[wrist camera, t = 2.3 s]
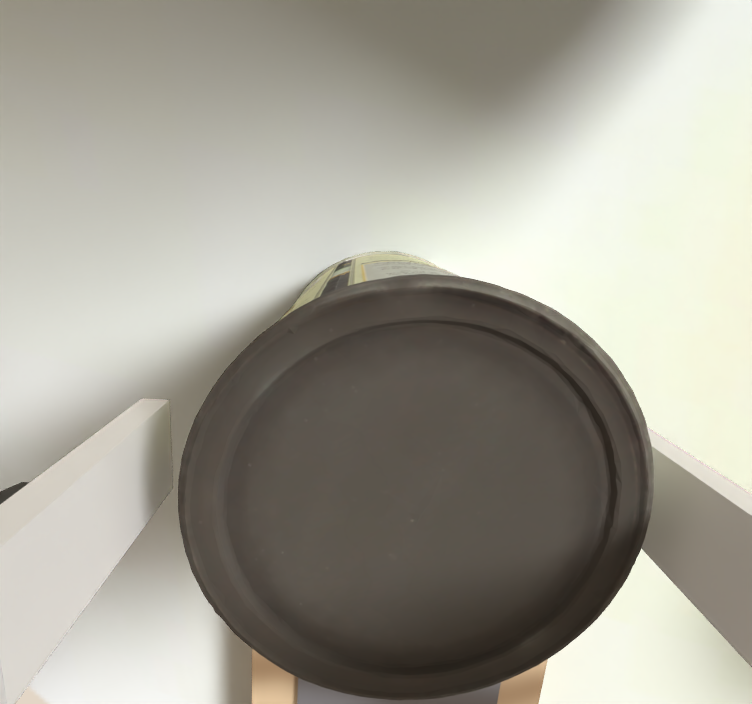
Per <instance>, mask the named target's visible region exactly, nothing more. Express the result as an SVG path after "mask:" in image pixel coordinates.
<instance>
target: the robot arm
mask: <svg viewBox="0 0 752 704" xmlns="http://www.w3.org/2000/svg"><path fill="white" fill-rule="evenodd" d="M647 429H648V433H649V437H650V441H651V446H652V452H653V461H654V497H653V503H652V510H651V517H650V521H649V524H648V528H647V532H646V536H645V539H644V542H643V545H642V547H641V548H642V549H643V550H644V552H645V553H646V554H647V555H648V556H649V557H650V558H651V559H652V560H653V561H654V562H655V563H656V564H657V566H658V567H659V568H660V569H661V570H662V571H663V572H664V573H665V574H666V575H667V576H668V577H669V579H670V580H671V581H672V582H673V583H674V584H675V585H676V586H677V587H678V588H679V589H680V590H681V591H682V593H683V594H684V595H685V596H686V597H687V598H688V599H689V600H690V601H691V602H692V603H693V604H694V606H695V607H696V608H697V609H698V610H699V611H700V612H701V613H702V614H703V615H704V616H705V617H706V618H707V620H708V621H709V622H710V623H711V624H712V625H713V626H714V627H715V628H716V629H717V630H718V631H719V633H720V634H721V635H722V636H723V637H724V638H725V639H726V640H727V641H728V642H729V643H730V644H731V645H732V647H733V648H734V649H735V650H736V651H737V652H738V653H739V654H740V655H741V656H742V657H743V658H744V659H745V661H746V662H747V663H748V664H749V665H750V666H751V667H752V494H751V493H750V492H748V491H746V490H745V489H743V488H742V487H740V486H739V485H737V484H736V483H734V482H732V481H731V480H729V479H728V478H726V477H725V476H723V475H722V474H720V473H718V472H717V471H715V470H714V469H712V468H711V467H709V466H708V465H706V464H704V463H703V462H701V461H700V460H698V459H697V458H695V457H694V456H692V455H690V454H689V453H687V452H686V451H684V450H683V449H681V448H680V447H678V446H676V445H675V444H673V443H672V442H670V441H669V440H667V439H666V438H664V437H662V436H661V435H659V434H658V433H656V432H655V431H653V430H652V429H650V428H648V427H647ZM172 488H173V472H172V446H171V420H170V400H164V399H145V398H142V399H140V400H139V401H138V402H136V403H135V404H134V405H132V406H131V407H130V408H128V409H127V410H126V411H124V412H123V413H122V414H120V415H119V416H118V417H116V418H115V419H114V420H112V421H111V422H110V423H108V424H107V425H106V426H104V427H103V428H102V429H100V430H99V431H98V432H96V433H95V434H94V435H92V436H91V437H90V438H88V439H87V440H86V441H84V442H83V443H82V444H80V445H79V446H78V447H76V448H75V449H74V450H72V451H71V452H70V453H68V454H67V455H66V456H64V457H63V458H62V459H60V460H59V461H58V462H56V463H55V464H54V465H52V466H51V467H50V468H48V469H47V470H46V471H44V472H43V473H42V474H40V475H39V476H38V477H36V478H35V479H34V480H32V481H31V482H30V483H28V482H21V483H19V484H17V485H14V486H12V487H10V488H8V489H5V490H3V491H1V492H0V704H16V702H17V701H18V699H19V698H20V697H21V695H22V694H23V693H24V691H25V690H26V688H27V687H28V686H29V684H30V683H31V682H32V680H33V679H34V677H35V676H36V675H37V673H38V672H39V671H40V669H41V668H42V667H43V665H44V664H45V662H46V661H47V660H48V658H49V657H50V656H51V654H52V653H53V651H54V650H55V649H56V647H57V646H58V645H59V643H60V642H61V640H62V639H63V638H64V636H65V635H66V634H67V632H68V631H69V629H70V628H71V627H72V625H73V624H74V623H75V621H76V620H77V619H78V617H79V616H80V614H81V613H82V612H83V610H84V609H85V608H86V606H87V605H88V603H89V602H90V601H91V599H92V598H93V597H94V595H95V594H96V592H97V591H98V590H99V588H100V587H101V586H102V584H103V583H104V582H105V580H106V579H107V577H108V576H109V575H110V573H111V572H112V571H113V569H114V568H115V566H116V565H117V564H118V562H119V561H120V560H121V558H122V557H123V555H124V554H125V553H126V551H127V550H128V549H129V547H130V546H131V545H132V543H133V542H134V540H135V539H136V538H137V536H138V535H139V534H140V532H141V531H142V529H143V528H144V527H145V525H146V524H147V523H148V521H149V520H150V518H151V517H152V516H153V514H154V513H155V512H156V510H157V509H158V507H159V506H160V505H161V503H162V502H163V501H164V499H165V498H166V497H167V495H168V494H169V492H170V491H171V490H172Z"/></svg>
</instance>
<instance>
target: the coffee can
mask: <svg viewBox="0 0 752 704" xmlns="http://www.w3.org/2000/svg"><path fill="white" fill-rule="evenodd" d="M653 497H654V461H653V452H652V446H651V441H650V437H649V433H648V429H647V425H646V421H645V418H644V416H643V413H642V410H641V408H640V406H639V404H638V402H637V399H636V397H635V395H634V392H633V390H632V389H631V387H630V386H629V384H628V383H627V381H626V379H625V378H624V376H623V374H622V373H621V371H620V370H619V368H618V367H617V365H616V364H615V363H614V361H613V360H612V359H611V358H610V357H609V355H608V354H607V353H606V352H605V351H604V350H603V349H602V348H601V347H600V346H599V345H598V344H597V343H596V342H595V341H594V340H593V339H592V338H591V337H590V336H589V335H588V334H586V333H585V332H584V331H583V330H582V329H581V328H580V327H578V326H577V325H576V324H575V323H573V322H572V321H570V320H569V319H568V318H566V317H565V316H563V315H562V314H560V313H559V312H557V311H556V310H554V309H552V308H550V307H548V306H546V305H544V304H542V303H540V302H538V301H536V300H534V299H532V298H530V297H528V296H525V295H523V294H520V293H518V292H515V291H512V290H508V289H505V288H503V287H500V286H498V285H494V284H490V283H487V282H483V281H479V280H474V279H469V278H464V277H460V276H457V275H455V274H453V273H451V272H449V271H446V270H444V269H441V268H439V267H438V266H436V265H435V264H433V263H431V262H429V261H426V260H424V259H421V258H419V257H416V256H413V255H409V254H404V253H400V252H392V251H390V252H379V251H376V252H369V253H363V254H359V255H355V256H352V257H349V258H346V259H344V260H342V261H340V262H338V263H336V264H334V265H332V266H330V267H329V268H327V269H326V270H324V271H323V272H321V273H320V274H319V275H318V276H317V277H316V278H315V279H314V280H313V281H312V282H311V283H310V284H309V285H308V286H307V287H306V288H305V290H304V291H303V292H302V294H301V295H300V296H299V298H298V300H297V301H296V302H295V304H294V305H293V306H292V307H291V308H290V309H289V310H288V311H287V312H286V313H285V314H284V316H283V317H282V318H281V319H280V320H279V321H278V322H276V323H275V324H274V325H272V326H271V327H270V328H268V329H267V330H266V331H264V332H263V333H262V334H261V335H259V336H258V337H257V338H256V339H255V340H254V341H253V342H252V343H251V344H250V345H249V346H248V347H247V348H246V349H245V350H243V351H242V352H241V354H240V355H239V356H238V357H237V358H236V359H235V360H234V361H233V362H232V363H231V364H230V366H229V367H228V368H227V369H226V370H225V371H224V373H223V374H222V375H221V377H220V378H219V379H218V381H217V382H216V384H215V385H214V386H213V388H212V390H211V391H210V393H209V395H208V396H207V398H206V400H205V401H204V403H203V405H202V407H201V409H200V410H199V412H198V414H197V416H196V418H195V420H194V423H193V425H192V428H191V431H190V433H189V436H188V439H187V442H186V445H185V449H184V452H183V455H182V461H181V468H180V475H179V485H178V511H179V520H180V528H181V533H182V538H183V543H184V547H185V552H186V555H187V557H188V560H189V563H190V566H191V570H192V572H193V574H194V576H195V578H196V580H197V582H198V584H199V586H200V588H201V590H202V592H203V594H204V596H205V597H206V599H207V600H208V602H209V603H210V604H211V605H212V607H213V608H214V610H215V612H216V613H217V614H218V615H219V616H220V617H221V618H222V619H223V620H224V621H225V623H226V624H227V625H228V626H229V627H230V629H231V630H232V631H233V632H234V633H235V634H236V635H237V636H238V637H240V638H241V639H242V640H243V641H244V642H245V643H246V644H248V645H249V646H250V647H251V648H253V649H254V650H255V651H256V652H257V653H259V654H260V655H262V656H263V657H264V658H266V659H267V660H269V661H270V662H272V663H273V664H275V665H276V666H278V667H280V668H281V669H283V670H285V671H286V672H288V673H290V674H292V675H294V676H296V677H298V678H300V679H302V680H304V681H307V682H310V683H313V684H316V685H318V686H320V687H323V688H327V689H331V690H334V691H338V692H341V693H345V694H350V695H355V696H360V697H368V698H376V699H388V700H425V699H437V698H444V697H449V696H455V695H460V694H464V693H469V692H474V691H477V690H480V689H483V688H486V687H490V686H493V685H495V684H498V683H500V682H503V681H505V680H508V679H510V678H512V677H514V676H517V675H519V674H521V673H523V672H525V671H527V670H529V669H531V668H533V667H535V666H537V665H539V664H541V663H542V662H544V661H545V660H547V659H548V658H550V657H551V656H553V655H554V654H556V653H557V652H559V651H560V650H562V649H563V648H564V647H566V646H567V645H568V644H569V643H570V642H572V641H573V640H574V639H575V638H577V637H578V636H579V635H580V634H581V633H582V632H584V631H585V630H586V629H587V628H588V627H589V626H590V625H591V624H592V623H593V622H594V621H595V620H596V619H597V618H598V617H599V616H600V615H601V614H602V612H603V611H604V610H605V609H606V608H607V606H608V605H609V604H610V603H611V601H612V600H613V598H614V597H615V596H616V594H617V593H618V591H619V590H620V588H621V587H622V585H623V584H624V582H625V581H626V579H627V577H628V575H629V573H630V571H631V569H632V566H633V565H634V564H635V561H636V558H637V556H638V554H639V552H640V550H641V547H642V545H643V542H644V539H645V536H646V532H647V528H648V524H649V521H650V517H651V510H652V503H653Z"/></svg>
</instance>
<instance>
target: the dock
mask: <svg viewBox="0 0 752 704" xmlns="http://www.w3.org/2000/svg"><path fill="white" fill-rule="evenodd" d="M547 660H548V659H547ZM547 660H545V661H544V662H542V663H541V664H539V665H537V666H535V667H533V668H531V669H529V670H527V671H525V672H523V673H521V674H519V675H517V676H514V677H512V678H510V679H508V680H505V681H503V682H500V683H498V684H495V685H493V686H490V687H486V688H483V689H480V690H477V691H474V692H469V693H464V694H460V695H455V696H449V697H444V698H437V699H425V700H388V699H376V698H368V697H360V696H355V695H350V694H345V693H341V692H338V691H334V690H331V689H327V688H323V687H320V686H318V685H316V684H313V683H310V682H307V681H304V680H302V679H300V678H298V677H296V676H294V675H292V674H290V673H288V672H286V671H285V670H283V669H281V668H280V667H278V666H276V665H275V664H273V663H272V662H270V661H269V660H267V659H266V658H264V657H263V656H262V655H260V654H259V653H257V652H256V651H255V650H254V649H253V648H252V704H538V703H539V698H540V693H541V688H542V683H543V679H544V674H545V669H546V664H547Z"/></svg>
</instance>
